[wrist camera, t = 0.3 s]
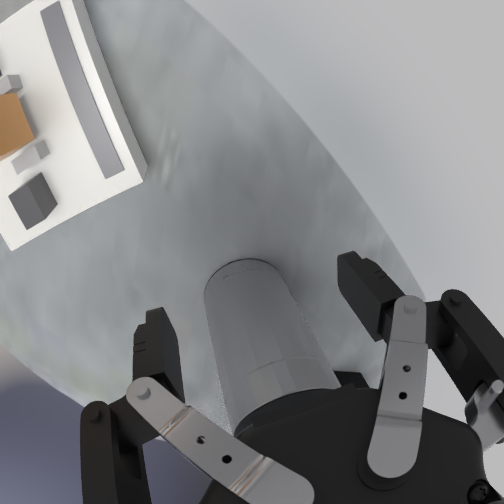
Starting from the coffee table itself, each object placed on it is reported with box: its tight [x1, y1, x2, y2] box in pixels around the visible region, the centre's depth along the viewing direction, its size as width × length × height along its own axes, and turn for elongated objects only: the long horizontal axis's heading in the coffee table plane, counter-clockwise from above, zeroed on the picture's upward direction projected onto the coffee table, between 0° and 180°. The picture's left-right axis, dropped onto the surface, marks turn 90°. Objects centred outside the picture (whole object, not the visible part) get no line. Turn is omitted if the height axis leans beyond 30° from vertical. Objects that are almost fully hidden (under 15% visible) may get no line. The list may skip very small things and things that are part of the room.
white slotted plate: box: [0, 0, 148, 251], centre depth 19 cm, size 18×14×8 cm
